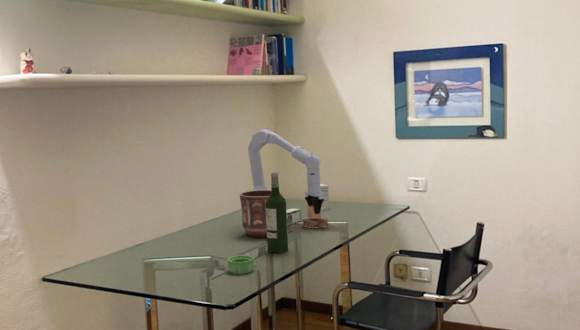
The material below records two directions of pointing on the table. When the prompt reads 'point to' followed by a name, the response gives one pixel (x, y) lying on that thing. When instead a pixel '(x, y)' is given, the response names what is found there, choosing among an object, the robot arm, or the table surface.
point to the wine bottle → (276, 219)
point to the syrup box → (293, 216)
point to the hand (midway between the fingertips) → (314, 213)
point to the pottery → (255, 212)
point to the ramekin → (240, 264)
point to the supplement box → (325, 197)
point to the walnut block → (315, 222)
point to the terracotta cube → (312, 212)
